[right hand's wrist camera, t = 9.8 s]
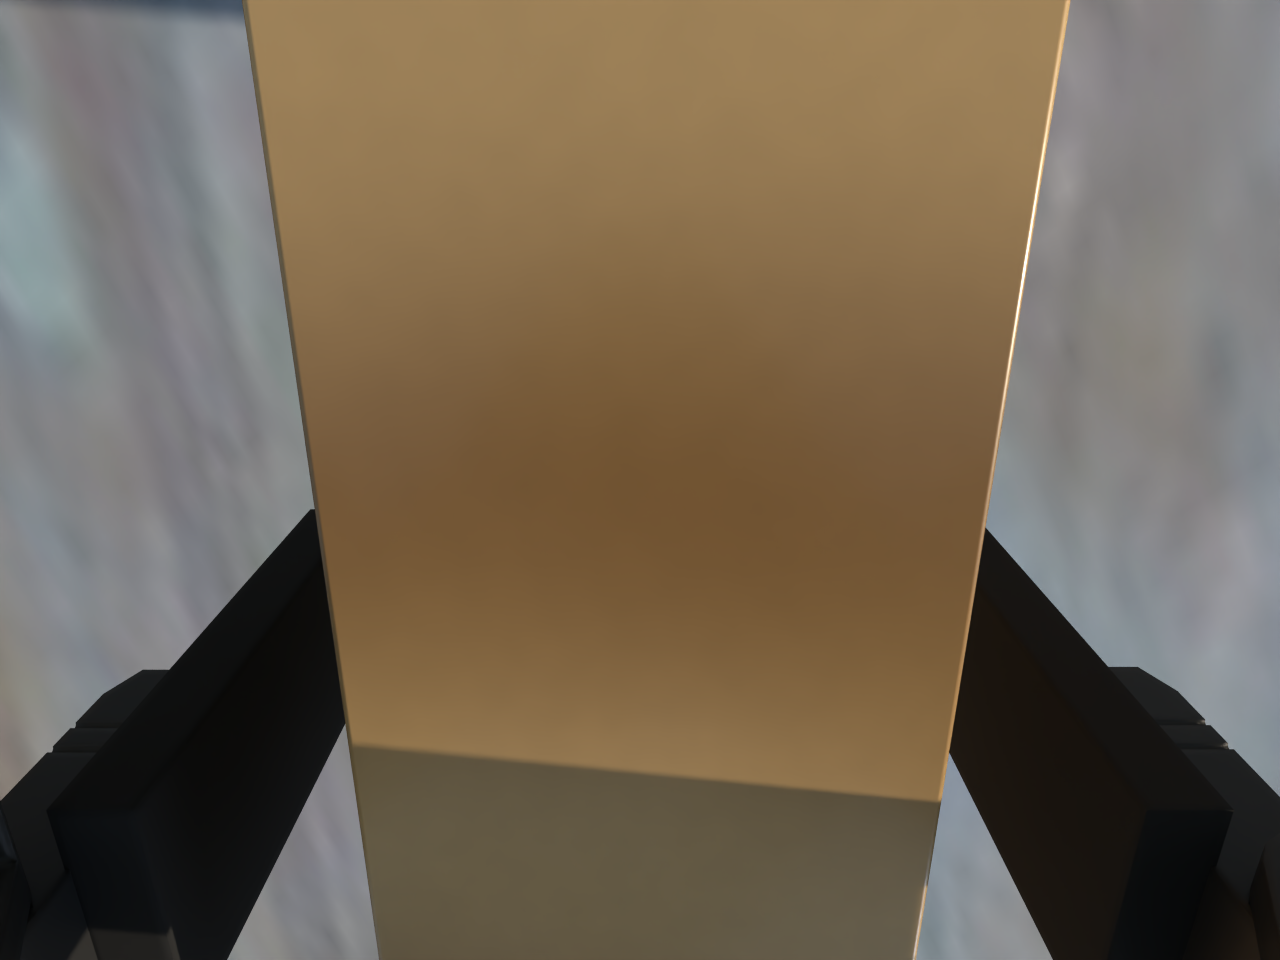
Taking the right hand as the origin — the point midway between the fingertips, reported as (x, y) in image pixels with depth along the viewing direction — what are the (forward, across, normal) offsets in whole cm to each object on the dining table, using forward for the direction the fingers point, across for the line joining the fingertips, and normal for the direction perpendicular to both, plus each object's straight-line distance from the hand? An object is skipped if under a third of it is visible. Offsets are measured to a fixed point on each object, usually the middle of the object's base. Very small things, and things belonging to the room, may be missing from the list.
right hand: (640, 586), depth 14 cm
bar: (+2, 0, -9) cm, 9 cm away
